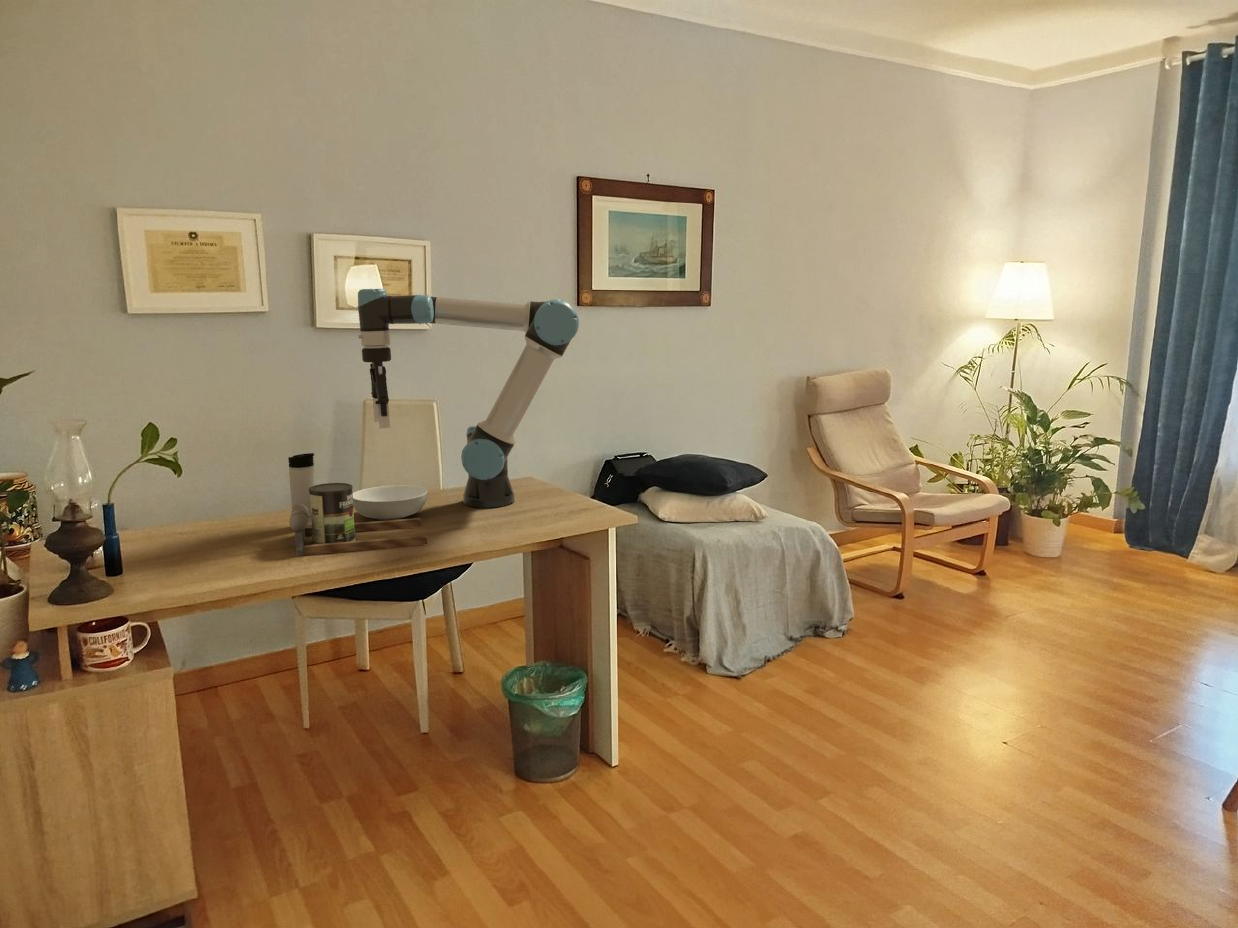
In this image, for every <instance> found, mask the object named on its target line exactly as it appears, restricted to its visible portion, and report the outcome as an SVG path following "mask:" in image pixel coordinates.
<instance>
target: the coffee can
mask: <svg viewBox="0 0 1238 928" xmlns="http://www.w3.org/2000/svg"><path fill="white" fill-rule="evenodd" d="M309 492H310V506H311V519H312V533H313V535H312V545H314V544H326V543H338V542H350V541H357V540H356V532H355V527H354V523H355V514H354V507H353V494H352V493H353V485H352V484H351V483H347V482H346V483H345V482H330V483H329V482H328V483H321V484H315V486H312V487H310V488H309Z"/></svg>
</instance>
